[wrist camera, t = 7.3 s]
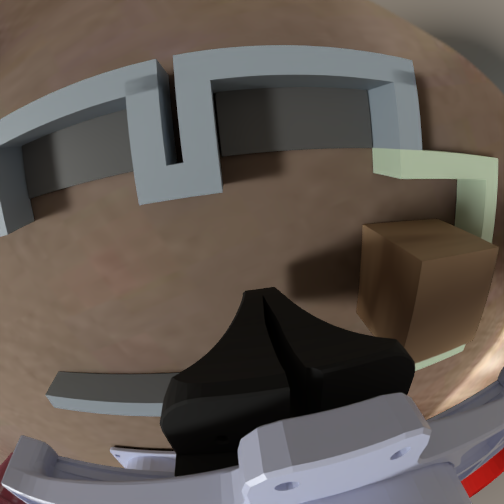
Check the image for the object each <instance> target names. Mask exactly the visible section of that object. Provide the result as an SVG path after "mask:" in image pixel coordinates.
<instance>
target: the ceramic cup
mask: <svg viewBox="0 0 504 504" xmlns="http://www.w3.org/2000/svg"><path fill="white" fill-rule="evenodd" d="M502 472H504V448H503V449H502V450H500V451H499V452H498V453H497V454H496V455H495V456H493V457H492V458H491V459H490V460H488V461H487V462H486V463H485V464H483V465H482V466H481V467H480V468H478V469H477V470H476V471H474V472H473V473H472V474H470V475H469V476H468V477H466V478H465V479H463V480H462V481H461V483H462V485H463V487H464V489H465V490H466V492H467V494H468V496H469V498H470V497H472V496H473V495H474V494H476V493H477V492H479V491H480V490H481V489H483V488H484V487H485V486H487V485H488V484H489V483H491V482H492V481H493V480H494V479H495V478H497V477H498V476H499V475H500V474H501V473H502Z"/></svg>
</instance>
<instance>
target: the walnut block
mask: <svg viewBox="0 0 504 504" xmlns="http://www.w3.org/2000/svg"><path fill="white" fill-rule="evenodd" d="M498 250H499V247H498V246H496V245H494V244H492V243H490V242H488V241H485V240H483V239H481V238H479V237H477V236H475V235H473V234H471V233H469V232H466V231H464V230H462V229H460V228H458V227H455V226H453V225H451V224H448V223H446V222H444V221H441V220H439V219H424V220H410V221H397V222H384V223H372V224H363V232H362V252H361V267H360V280H359V291H358V301H357V310H356V313H357V314H358V315H359V317H360V318H361V319H362V321H363V322H364V323H365V325H366V326H367V327H368V329H369V330H370V331H371V333H372V334H373V336H374V337H382V338H391V339H397V340H398V341H399V342H400V344H401V345H402V346H403V347H404V348H405V349H406V351H407V352H408V353H409V355H410V356H411V357H412V359H413V360H414V361H415V364H416V363H418V362H421V361H424V360H427V359H429V358H432V357H435V356H437V355H440V354H442V353H445V352H447V351H450V350H452V349H455V348H457V347H459V346H462V345H464V344H466V343H469V342H471V341H473V339H474V337H475V334H476V331H477V329H478V326H479V323H480V320H481V317H482V314H483V310H484V307H485V304H486V301H487V297H488V293H489V290H490V286H491V282H492V278H493V274H494V269H495V265H496V260H497V255H498Z"/></svg>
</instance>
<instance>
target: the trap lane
mask: <svg viewBox="0 0 504 504" xmlns="http://www.w3.org/2000/svg"><path fill="white" fill-rule="evenodd" d="M173 65H174V78H175V90H176V101H177V112H178V121H179V131H180V140H181V148H182V156H183V162H180V163H177V155H176V147H175V139H174V130H173V120H172V110H171V100H170V88H169V75H168V74H167V73H166V71H165V70H164V69H163V67H162V66H161V65H160V63H159V62H158V61H157V59H154V60H149V61H145V62H141V63H137V64H133V65H129V66H126V67H122V68H119V69H115V70H112V71H109V72H106V73H103V74H100V75H97V76H94V77H91V78H88V79H85V80H82V81H80V82H77V83H74V84H72V85H69V86H67V87H64V88H62V89H60V90H57V91H55V92H53V93H50V94H48V95H46V96H44V97H42V98H40V99H38V100H35V101H33V102H31V103H29V104H27V105H25V106H23V107H22V108H20V109H18V110H16V111H14V112H12V113H10V114H9V115H7V116H5V117H3V118H2V119H0V237H1V236H4V235H8V234H10V233H12V232H13V231H15V230H17V229H19V228H21V227H23V226H25V225H27V224H29V223H31V222H33V221H34V216H33V211H32V207H31V202H30V198H33V197H36V196H39V195H43V194H46V193H49V192H52V191H56V190H59V189H63V188H66V187H70V186H74V185H77V184H81V183H85V182H89V181H93V180H97V179H101V178H105V177H109V176H114V175H118V174H123V173H127V172H132V171H134V177H135V183H136V189H137V195H138V201H139V205H142V204H148V203H154V202H160V201H166V200H173V199H179V198H186V197H192V196H199V195H207V194H214V193H222V192H223V181H222V173H221V164H220V155H219V146H218V137H217V128H216V119H215V110H214V100H213V94H214V93H215V96H216V106H217V115H218V125H219V134H220V143H221V152H222V157H223V156H231V155H240V154H250V153H260V152H272V151H285V150H302V149H324V148H372V153H373V173H376V174H381V175H386V176H390V177H395V178H399V179H457V199H456V215H455V227H458V228H460V229H462V230H464V231H466V232H469V233H471V234H473V235H475V236H477V237H479V238H481V239H483V240H485V241H488V242H490V243H492V238H493V231H494V223H495V213H496V202H497V185H498V158H493V157H487V156H480V155H473V154H465V153H456V152H446V151H433V150H422V136H421V122H420V111H419V102H418V94H417V87H416V80H415V74H414V68H413V63H412V60H408V59H404V58H399V57H394V56H389V55H384V54H379V53H373V52H366V51H359V50H351V49H342V48H332V47H319V46H296V45H268V46H245V47H232V48H221V49H212V50H204V51H197V52H190V53H184V54H179V55H173ZM464 347H465V344H464V345H462V346H459V347H457V348H455V349H452V350H450V351H447V352H445V353H442V354H440V355H437V356H435V357H432V358H429V359H427V360H424V361H421V362H418V363H416V364H415V371H416V370H419V369H421V368H424V367H427V366H429V365H432V364H434V363H436V362H439V361H441V360H444V359H446V358H448V357H450V356H453V355H455V354H457V353H459V352H461V351H463V349H464ZM177 374H179V373H164V374H89V373H71V372H58V373H57V375H56V377H55V379H54V380H53V382H52V384H51V386H50V387H49V389H48V391H47V393H46V396H47V398H48V399H49V401H50V402H51V404H52V405H53V406H54V407H55V408H61V409H67V410H74V411H82V412H90V413H100V414H112V415H128V416H161V411H162V405H163V400H164V396H165V394H166V391H167V388H168V385H169V383H170V380H171V378H172V377H173V376H175V375H177Z"/></svg>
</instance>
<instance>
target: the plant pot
mask: <svg viewBox="0 0 504 504" xmlns="http://www.w3.org/2000/svg"><path fill="white" fill-rule="evenodd" d="M12 454H13V453H11V454H10V455H9V456H8V457H7V459H6V460H5V461H4V462H3V463H2V464H1V465H0V504H26V503H25V502H23V501H22V500H21V499H19V498H18V497H17V496H15V495H14V494H13V493H11V492H10V491H9V490H7V489H6V488H5V487H4V486H2V484H1V481H2V479H3V476H4V474H5V471H6V469H7V466H8V464H9V461H10V459H11V457H12Z"/></svg>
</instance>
